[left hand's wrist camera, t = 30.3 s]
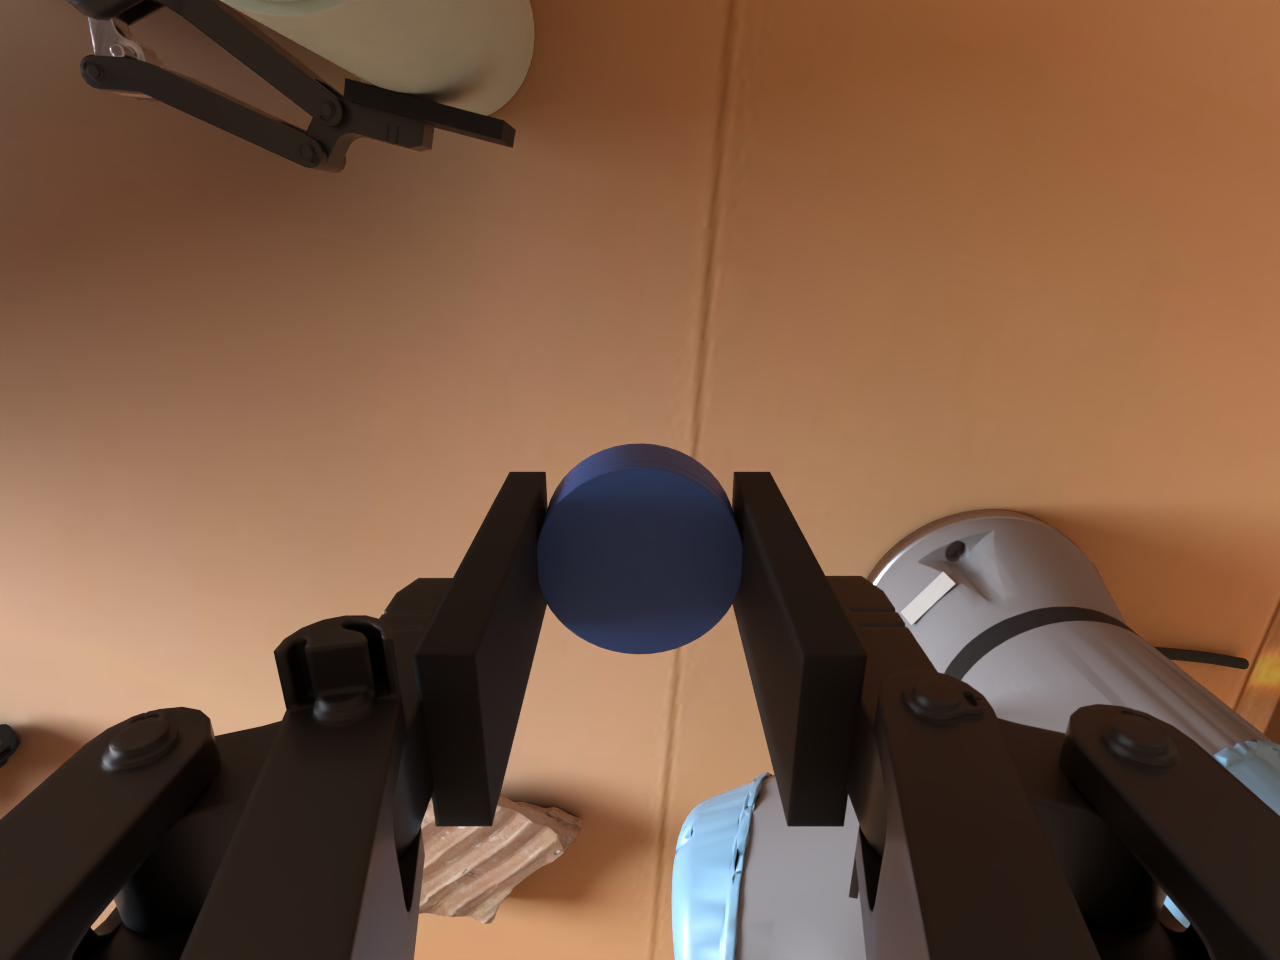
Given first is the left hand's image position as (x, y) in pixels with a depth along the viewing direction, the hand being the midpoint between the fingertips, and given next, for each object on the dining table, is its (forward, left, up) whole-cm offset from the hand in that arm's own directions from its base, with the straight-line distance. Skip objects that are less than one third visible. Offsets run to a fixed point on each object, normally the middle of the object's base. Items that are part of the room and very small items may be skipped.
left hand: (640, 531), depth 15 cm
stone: (-1, +39, -26) cm, 46 cm away
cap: (0, 0, +1) cm, 1 cm away
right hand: (+9, -12, -19) cm, 25 cm away
